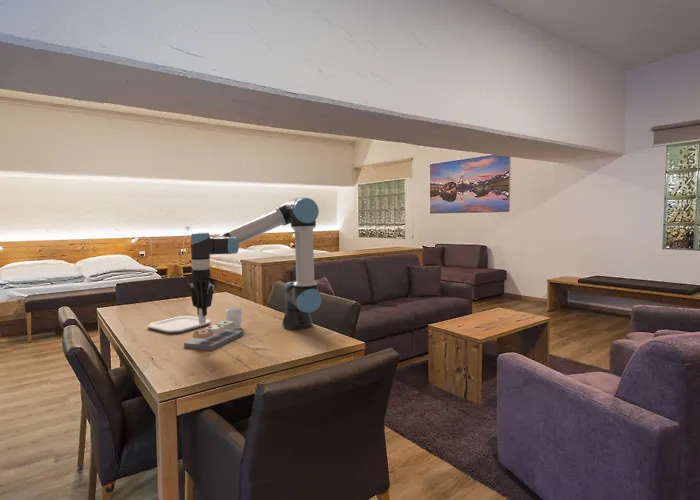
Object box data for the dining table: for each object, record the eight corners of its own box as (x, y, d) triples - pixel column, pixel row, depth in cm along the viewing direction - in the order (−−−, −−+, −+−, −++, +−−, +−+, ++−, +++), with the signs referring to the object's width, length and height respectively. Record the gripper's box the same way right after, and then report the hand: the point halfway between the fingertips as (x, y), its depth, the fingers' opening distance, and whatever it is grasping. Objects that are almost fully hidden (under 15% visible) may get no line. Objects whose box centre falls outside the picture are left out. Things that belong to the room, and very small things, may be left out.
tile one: (234, 325, 196) (234, 320, 196) (227, 328, 190) (226, 324, 190) (223, 324, 198) (223, 319, 198) (215, 327, 192) (215, 323, 192)
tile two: (224, 330, 188) (224, 325, 188) (216, 333, 183) (216, 328, 183) (213, 329, 190) (213, 324, 190) (204, 332, 185) (204, 327, 184)
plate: (173, 336, 195) (173, 331, 195) (142, 329, 208) (142, 324, 208) (215, 324, 216) (215, 320, 216) (185, 318, 229) (185, 314, 229)
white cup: (237, 330, 203) (237, 310, 203) (222, 329, 205) (222, 310, 204) (244, 326, 211) (244, 307, 210) (230, 325, 213) (230, 306, 212)
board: (243, 334, 196) (243, 330, 196) (211, 350, 173) (211, 345, 173) (218, 332, 200) (217, 328, 200) (184, 347, 178) (183, 342, 178)
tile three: (213, 334, 181) (213, 329, 181) (204, 338, 175) (204, 333, 175) (202, 333, 183) (201, 328, 183) (193, 337, 177) (192, 332, 177)
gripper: (219, 268, 178) (220, 322, 180) (194, 267, 182) (195, 319, 184) (208, 270, 171) (209, 326, 173) (182, 269, 175) (184, 323, 177)
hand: (202, 322), depth 178 cm, fingers closed
